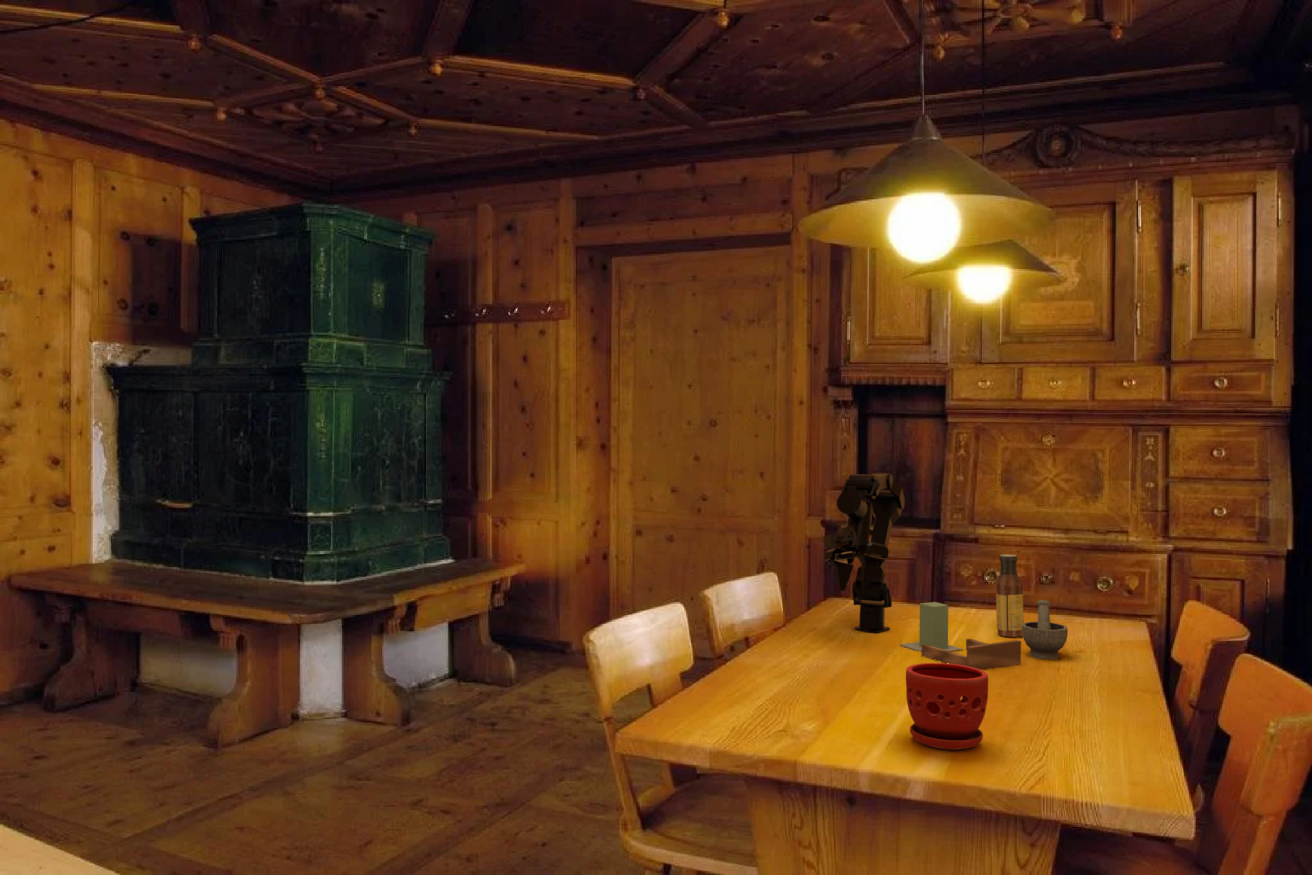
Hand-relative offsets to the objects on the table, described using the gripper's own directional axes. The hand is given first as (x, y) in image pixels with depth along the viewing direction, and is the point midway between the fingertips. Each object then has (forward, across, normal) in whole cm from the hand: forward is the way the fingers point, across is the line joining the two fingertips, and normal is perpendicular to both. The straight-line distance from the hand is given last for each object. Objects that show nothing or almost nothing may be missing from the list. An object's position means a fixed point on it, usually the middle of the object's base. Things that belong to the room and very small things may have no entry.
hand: (852, 589), depth 234 cm
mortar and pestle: (+10, +22, +38) cm, 44 cm away
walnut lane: (+13, +18, +20) cm, 30 cm away
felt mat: (+11, +6, +18) cm, 22 cm away
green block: (+10, +7, +18) cm, 22 cm away
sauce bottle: (+3, +3, +44) cm, 44 cm away
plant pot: (+33, +60, -18) cm, 71 cm away
